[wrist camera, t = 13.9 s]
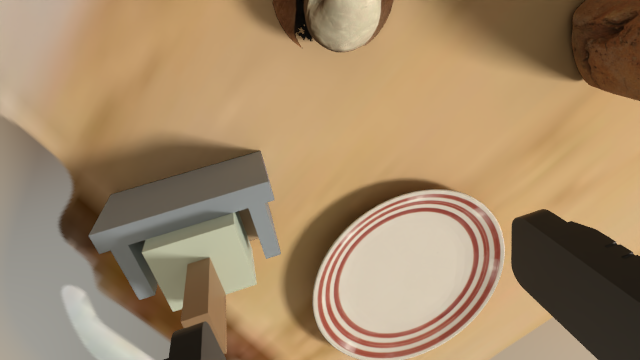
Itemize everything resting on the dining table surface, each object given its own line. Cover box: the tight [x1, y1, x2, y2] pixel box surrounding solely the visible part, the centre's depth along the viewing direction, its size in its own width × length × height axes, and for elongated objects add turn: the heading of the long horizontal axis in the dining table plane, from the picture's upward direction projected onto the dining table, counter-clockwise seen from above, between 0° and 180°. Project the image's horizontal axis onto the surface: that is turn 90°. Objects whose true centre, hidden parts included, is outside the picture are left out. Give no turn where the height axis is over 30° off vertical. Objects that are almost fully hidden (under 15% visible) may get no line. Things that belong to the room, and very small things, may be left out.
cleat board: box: [89, 151, 281, 300], centre depth 40 cm, size 8×16×8 cm, turn 103°
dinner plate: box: [313, 189, 505, 360], centre depth 53 cm, size 28×27×3 cm
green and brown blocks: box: [142, 211, 257, 354], centre depth 35 cm, size 7×8×13 cm
